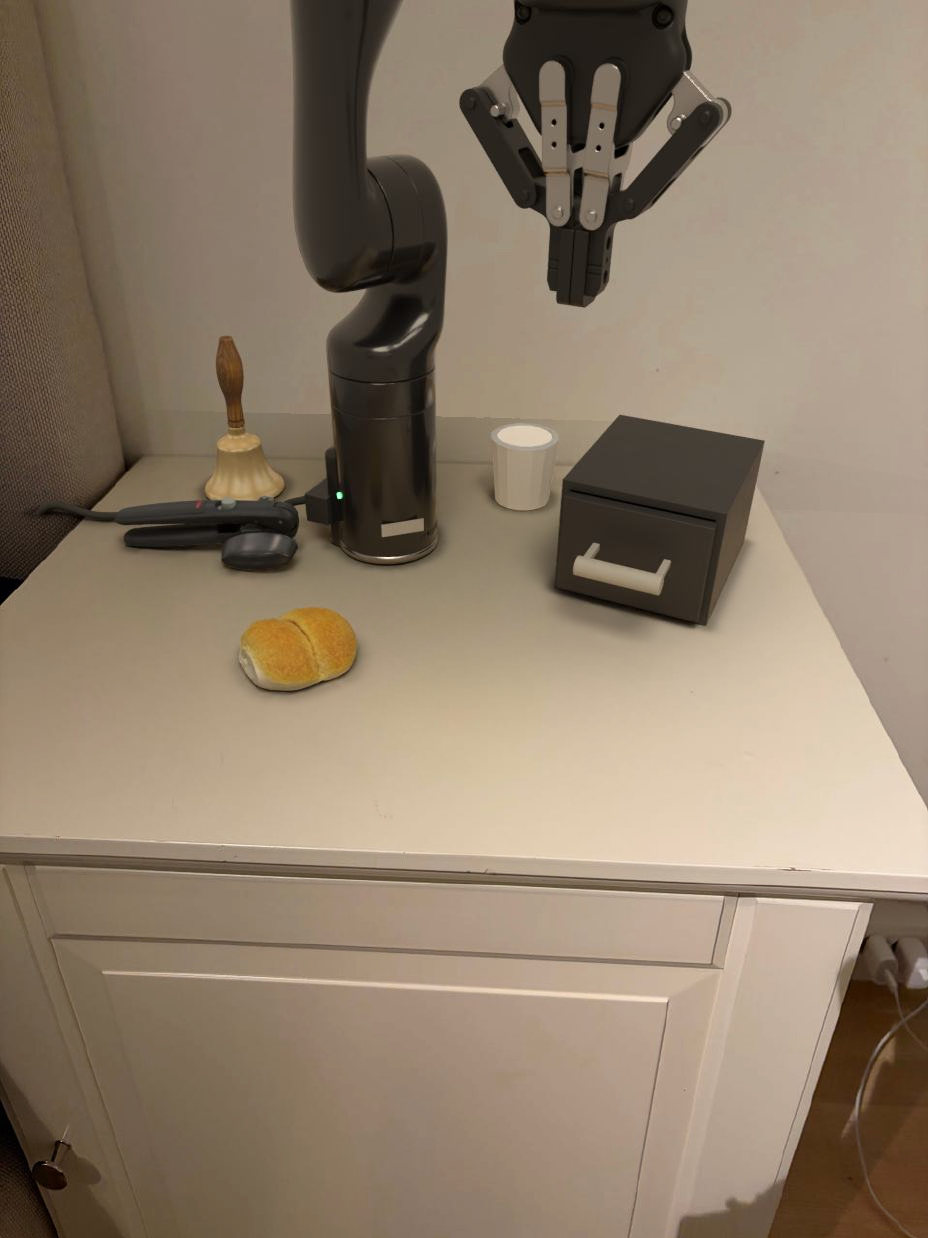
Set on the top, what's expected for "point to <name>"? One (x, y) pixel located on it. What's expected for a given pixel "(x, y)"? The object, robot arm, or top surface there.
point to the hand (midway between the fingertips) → (575, 301)
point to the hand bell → (238, 440)
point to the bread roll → (297, 649)
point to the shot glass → (523, 464)
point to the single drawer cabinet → (675, 483)
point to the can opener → (219, 528)
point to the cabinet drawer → (635, 554)
